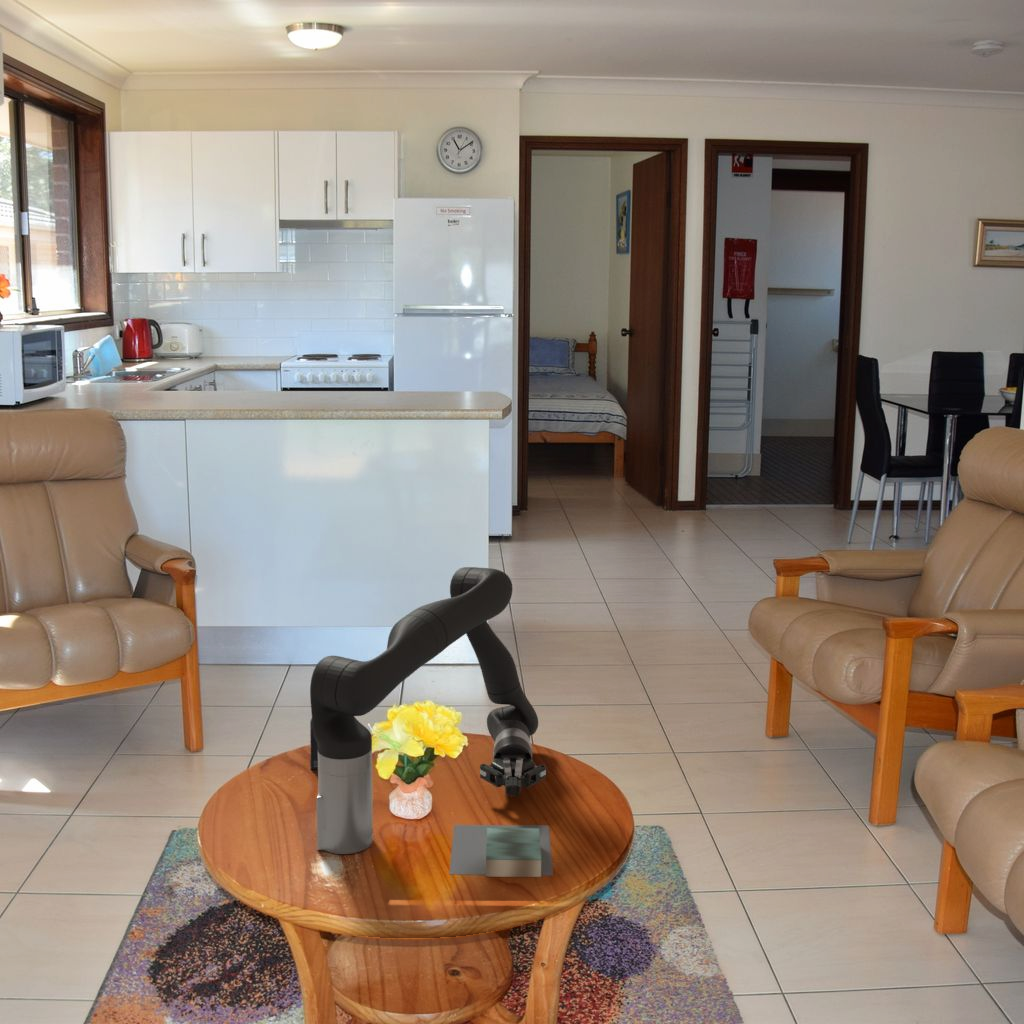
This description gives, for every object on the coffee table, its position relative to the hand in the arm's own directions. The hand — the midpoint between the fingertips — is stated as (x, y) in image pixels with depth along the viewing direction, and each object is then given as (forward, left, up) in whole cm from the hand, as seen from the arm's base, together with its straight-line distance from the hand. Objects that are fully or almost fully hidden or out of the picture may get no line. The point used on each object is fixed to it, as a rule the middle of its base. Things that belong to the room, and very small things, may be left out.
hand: (513, 791), depth 210 cm
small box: (-37, +28, -6) cm, 47 cm away
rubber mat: (-2, -11, -6) cm, 13 cm away
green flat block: (0, -10, -4) cm, 10 cm away
